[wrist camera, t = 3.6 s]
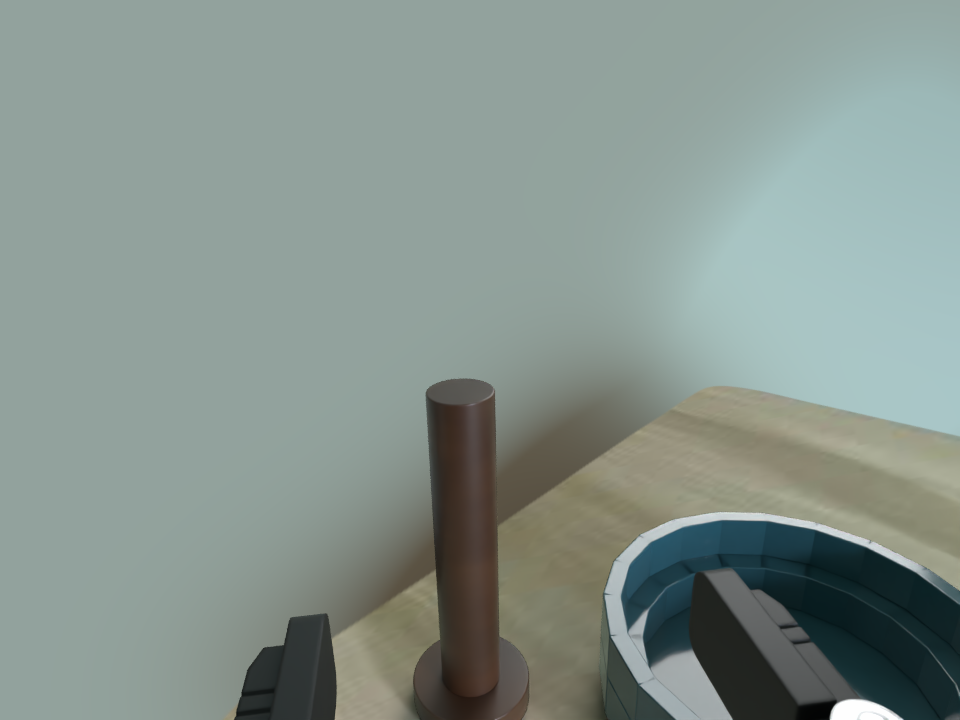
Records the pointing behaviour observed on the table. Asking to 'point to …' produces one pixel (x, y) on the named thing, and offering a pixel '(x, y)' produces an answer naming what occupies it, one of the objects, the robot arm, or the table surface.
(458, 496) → the brown post with base
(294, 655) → the robot arm
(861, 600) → the bowl
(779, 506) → the table surface
